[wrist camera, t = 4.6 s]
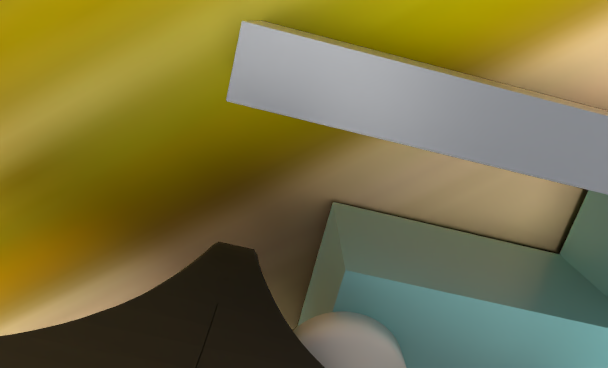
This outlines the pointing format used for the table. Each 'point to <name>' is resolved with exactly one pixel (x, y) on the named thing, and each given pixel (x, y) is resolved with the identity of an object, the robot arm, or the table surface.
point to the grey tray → (419, 105)
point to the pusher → (456, 296)
